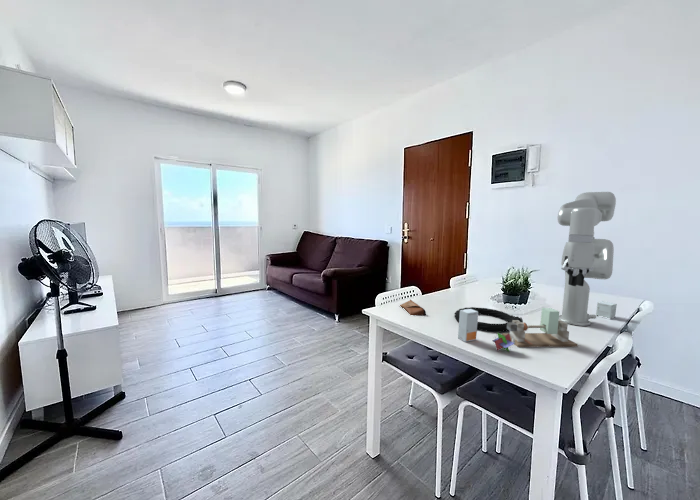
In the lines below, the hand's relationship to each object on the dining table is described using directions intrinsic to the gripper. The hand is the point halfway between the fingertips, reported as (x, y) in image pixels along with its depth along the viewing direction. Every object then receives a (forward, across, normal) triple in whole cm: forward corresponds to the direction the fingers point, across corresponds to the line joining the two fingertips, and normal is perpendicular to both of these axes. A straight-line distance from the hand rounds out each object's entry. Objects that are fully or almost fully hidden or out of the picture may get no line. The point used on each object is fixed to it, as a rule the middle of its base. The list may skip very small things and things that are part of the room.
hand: (575, 285), depth 117 cm
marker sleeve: (+19, +10, 0) cm, 22 cm away
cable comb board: (+23, +14, 0) cm, 27 cm away
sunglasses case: (+24, +55, -40) cm, 72 cm away
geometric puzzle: (+23, +33, +8) cm, 41 cm away
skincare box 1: (+23, +42, -2) cm, 48 cm away
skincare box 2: (+23, -43, -29) cm, 57 cm away
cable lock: (+24, +23, -22) cm, 40 cm away
